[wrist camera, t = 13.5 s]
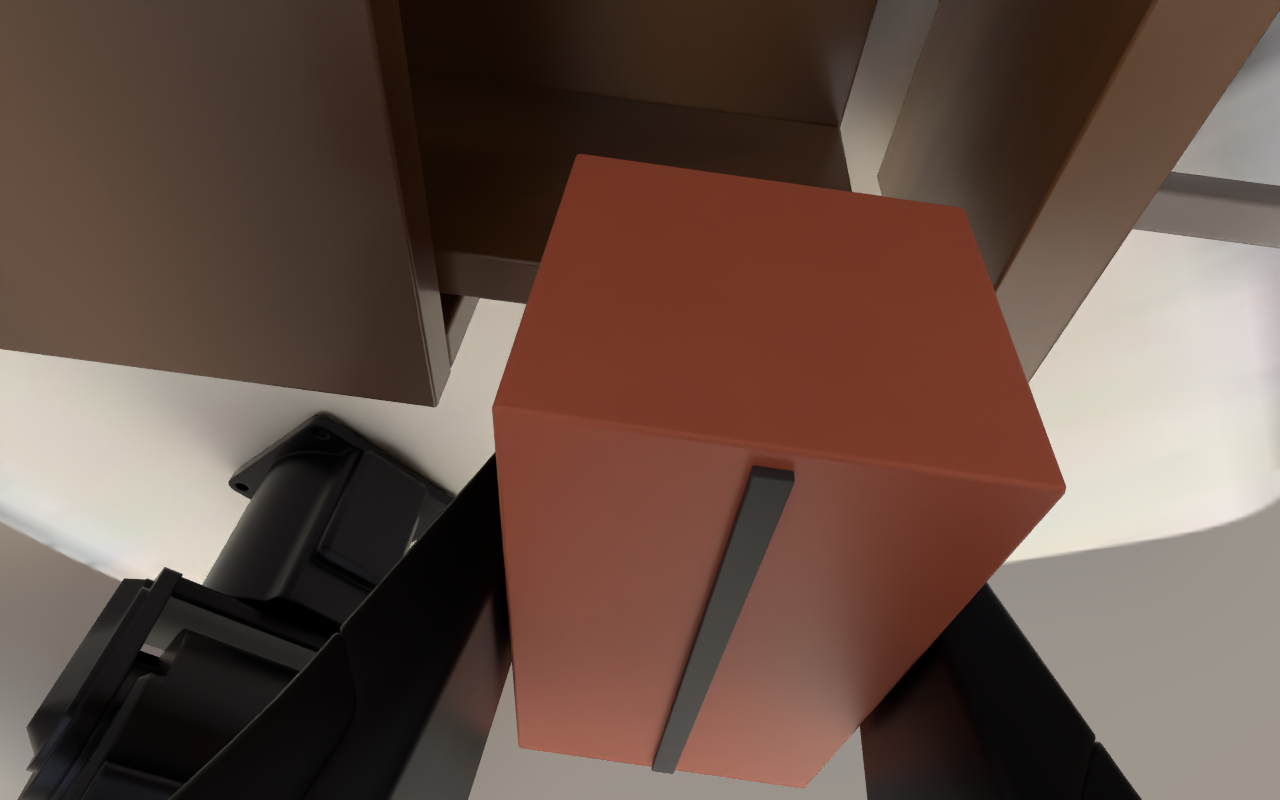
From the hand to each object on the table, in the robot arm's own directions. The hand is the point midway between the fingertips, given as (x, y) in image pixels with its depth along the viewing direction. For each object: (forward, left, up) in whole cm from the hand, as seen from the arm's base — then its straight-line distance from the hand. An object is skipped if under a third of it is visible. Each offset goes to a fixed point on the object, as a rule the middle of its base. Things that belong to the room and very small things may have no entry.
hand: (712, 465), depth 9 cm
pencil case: (0, 0, -1) cm, 1 cm away
